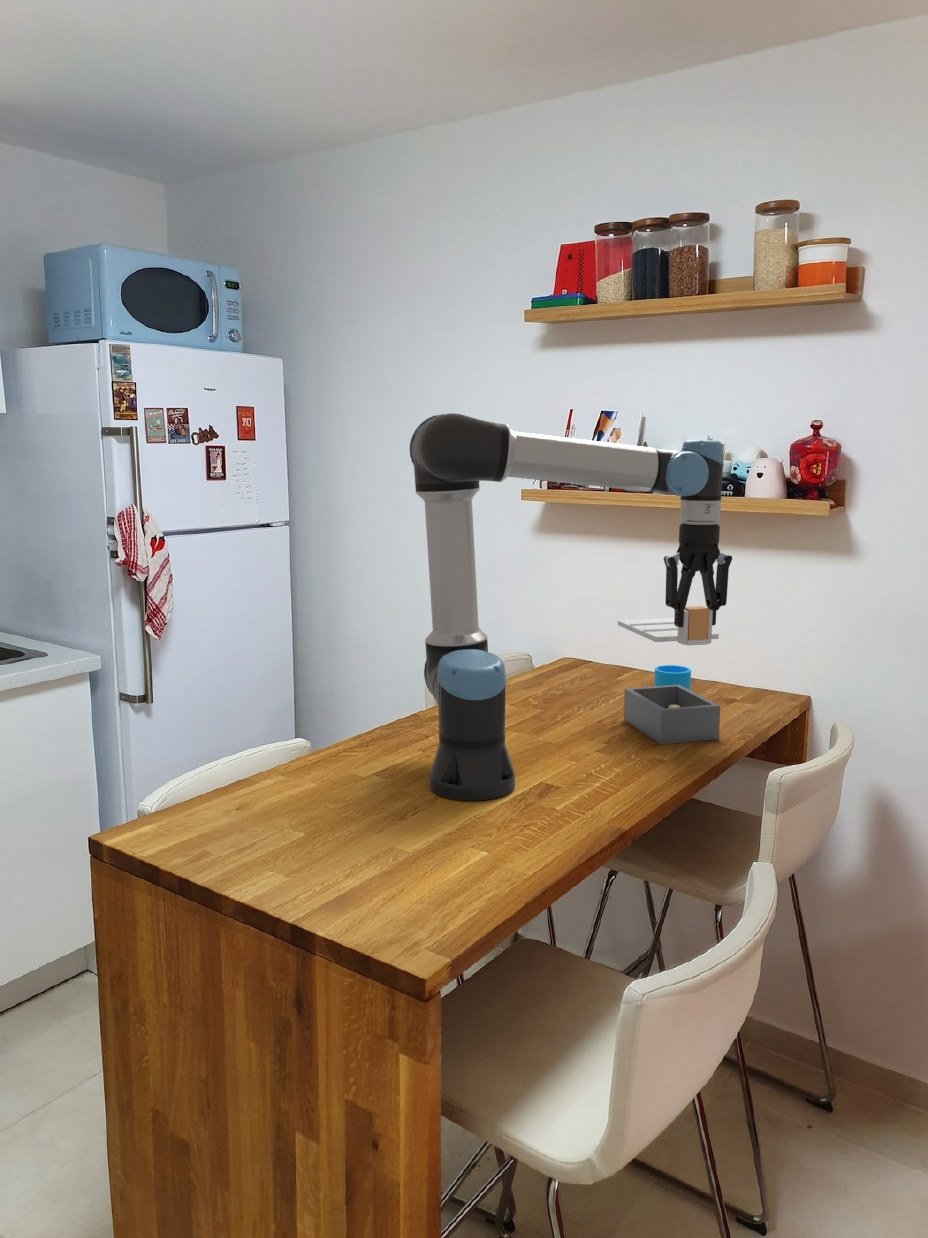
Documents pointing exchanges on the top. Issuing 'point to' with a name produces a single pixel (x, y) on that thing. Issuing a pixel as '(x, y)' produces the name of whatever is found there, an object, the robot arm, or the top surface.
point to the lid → (673, 627)
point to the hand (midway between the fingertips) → (694, 642)
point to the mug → (672, 676)
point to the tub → (671, 714)
